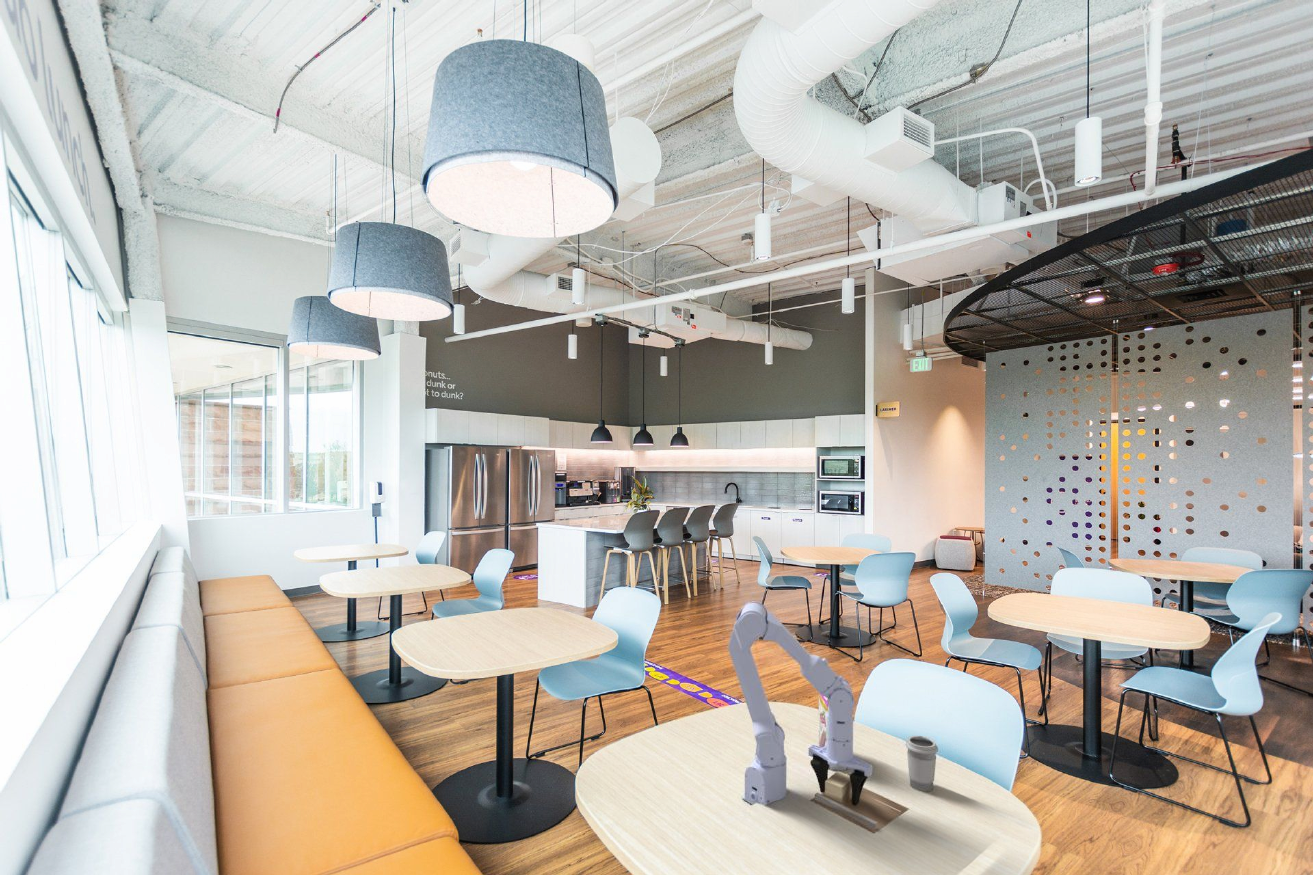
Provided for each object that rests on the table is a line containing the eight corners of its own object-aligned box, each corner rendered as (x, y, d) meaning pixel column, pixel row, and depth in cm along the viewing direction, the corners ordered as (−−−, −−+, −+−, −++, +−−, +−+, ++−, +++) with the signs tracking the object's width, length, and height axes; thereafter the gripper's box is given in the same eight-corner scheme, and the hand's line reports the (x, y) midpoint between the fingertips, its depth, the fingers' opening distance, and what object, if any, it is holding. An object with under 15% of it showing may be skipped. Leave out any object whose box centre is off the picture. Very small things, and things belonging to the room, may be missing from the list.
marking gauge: (841, 807, 145) (841, 787, 145) (824, 800, 147) (825, 780, 147) (862, 788, 152) (862, 769, 152) (845, 782, 155) (846, 763, 155)
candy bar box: (817, 754, 172) (817, 691, 172) (836, 754, 172) (837, 691, 172) (827, 776, 161) (828, 708, 161) (848, 776, 161) (848, 709, 161)
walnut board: (873, 840, 135) (873, 827, 135) (809, 806, 148) (809, 794, 148) (909, 815, 144) (909, 803, 144) (845, 785, 157) (845, 774, 157)
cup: (935, 787, 156) (936, 736, 156) (939, 802, 150) (940, 749, 150) (903, 783, 158) (904, 733, 158) (906, 797, 152) (906, 745, 152)
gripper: (802, 732, 150) (801, 792, 150) (863, 752, 140) (862, 816, 140) (816, 722, 155) (816, 780, 155) (876, 741, 146) (876, 803, 146)
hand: (839, 796), depth 148 cm, fingers open, 7 cm apart
